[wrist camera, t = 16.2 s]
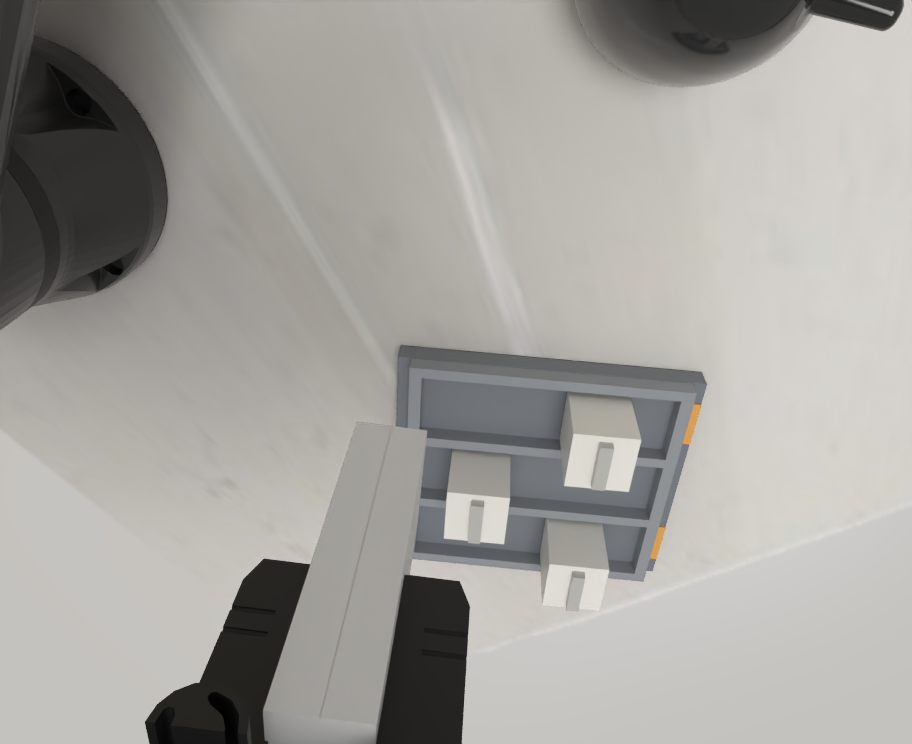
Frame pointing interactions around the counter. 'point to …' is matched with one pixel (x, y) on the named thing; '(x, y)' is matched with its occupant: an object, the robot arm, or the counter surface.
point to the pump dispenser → (711, 33)
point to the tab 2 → (599, 441)
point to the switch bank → (543, 449)
